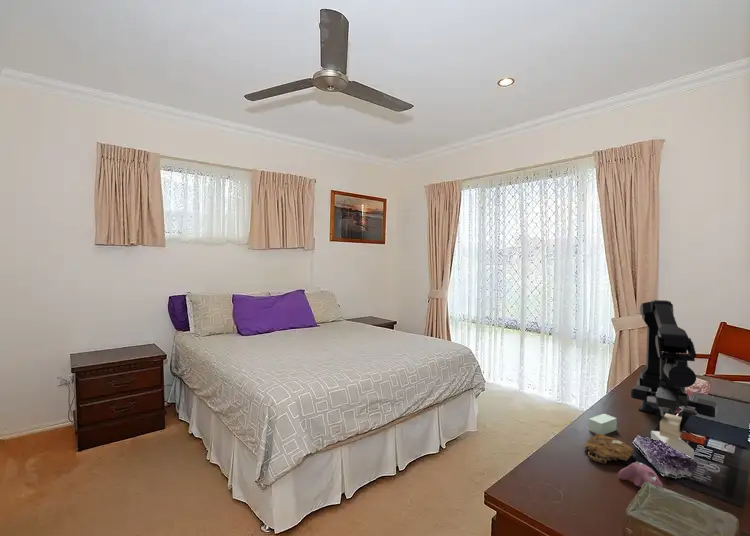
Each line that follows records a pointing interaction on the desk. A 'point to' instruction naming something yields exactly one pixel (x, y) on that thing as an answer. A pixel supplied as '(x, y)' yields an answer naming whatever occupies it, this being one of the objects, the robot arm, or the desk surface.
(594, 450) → the decorative rock
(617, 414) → the desk surface
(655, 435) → the white brick
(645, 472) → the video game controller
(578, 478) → the desk surface
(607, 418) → the sage brick
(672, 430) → the birch brick
